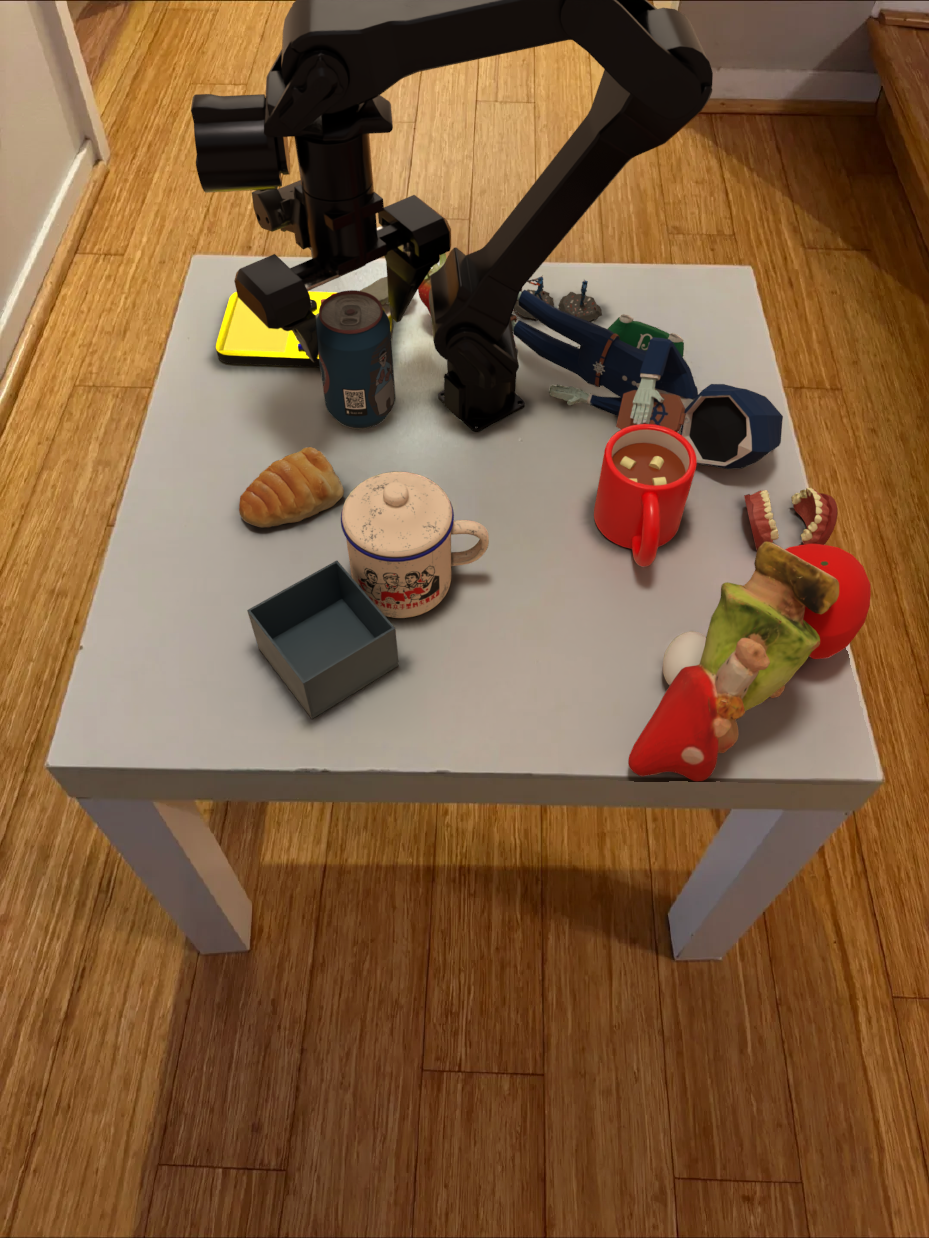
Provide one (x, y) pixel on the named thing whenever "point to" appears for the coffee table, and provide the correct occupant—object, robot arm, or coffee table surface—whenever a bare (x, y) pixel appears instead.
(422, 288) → the fruit
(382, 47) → the robot arm
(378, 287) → the stone
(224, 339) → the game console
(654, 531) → the mug
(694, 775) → the figurine
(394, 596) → the teacup with lid
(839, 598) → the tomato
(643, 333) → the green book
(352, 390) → the soda can
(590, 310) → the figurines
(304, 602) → the bin
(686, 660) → the egg
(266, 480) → the pastry
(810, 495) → the dentures
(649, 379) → the figurine
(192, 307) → the coffee table surface
